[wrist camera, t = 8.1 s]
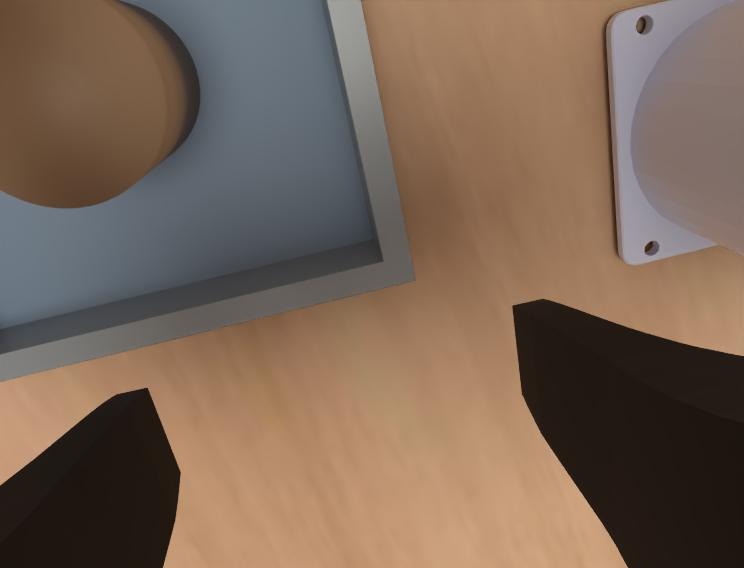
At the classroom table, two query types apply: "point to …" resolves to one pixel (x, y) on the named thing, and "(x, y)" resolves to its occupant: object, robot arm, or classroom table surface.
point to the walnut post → (88, 99)
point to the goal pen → (221, 198)
